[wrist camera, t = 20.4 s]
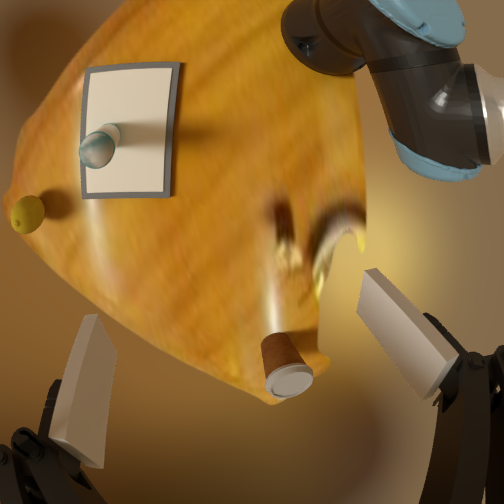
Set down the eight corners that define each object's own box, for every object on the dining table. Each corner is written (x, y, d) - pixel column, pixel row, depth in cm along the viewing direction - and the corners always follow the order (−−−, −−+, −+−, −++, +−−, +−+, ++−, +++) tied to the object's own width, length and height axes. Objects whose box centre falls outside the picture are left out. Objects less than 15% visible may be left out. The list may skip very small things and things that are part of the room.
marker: (112, 117, 31) (100, 124, 22) (126, 137, 33) (121, 152, 24) (90, 134, 31) (72, 149, 22) (105, 154, 33) (93, 176, 24)
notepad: (180, 63, 31) (180, 61, 30) (170, 196, 39) (169, 198, 39) (87, 69, 27) (85, 68, 27) (83, 197, 36) (81, 199, 35)
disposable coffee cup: (247, 338, 55) (259, 383, 45) (289, 320, 56) (310, 363, 45) (261, 363, 60) (274, 405, 50) (300, 346, 60) (318, 387, 50)
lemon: (23, 196, 33) (-2, 212, 26) (46, 185, 34) (21, 200, 27) (33, 225, 36) (11, 246, 29) (56, 216, 36) (34, 236, 29)
